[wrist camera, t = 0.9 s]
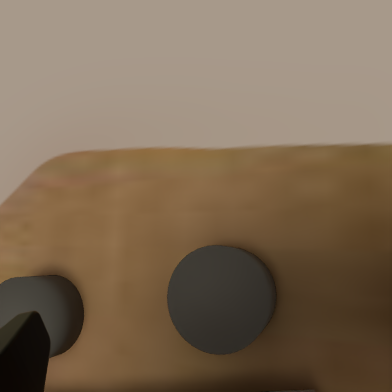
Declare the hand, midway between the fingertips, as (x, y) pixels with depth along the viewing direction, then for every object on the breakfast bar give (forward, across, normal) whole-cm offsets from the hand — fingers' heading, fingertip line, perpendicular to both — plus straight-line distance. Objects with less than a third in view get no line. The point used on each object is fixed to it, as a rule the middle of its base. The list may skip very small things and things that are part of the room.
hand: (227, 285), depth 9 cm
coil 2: (+9, -1, +7) cm, 12 cm away
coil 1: (+12, +11, +9) cm, 19 cm away
